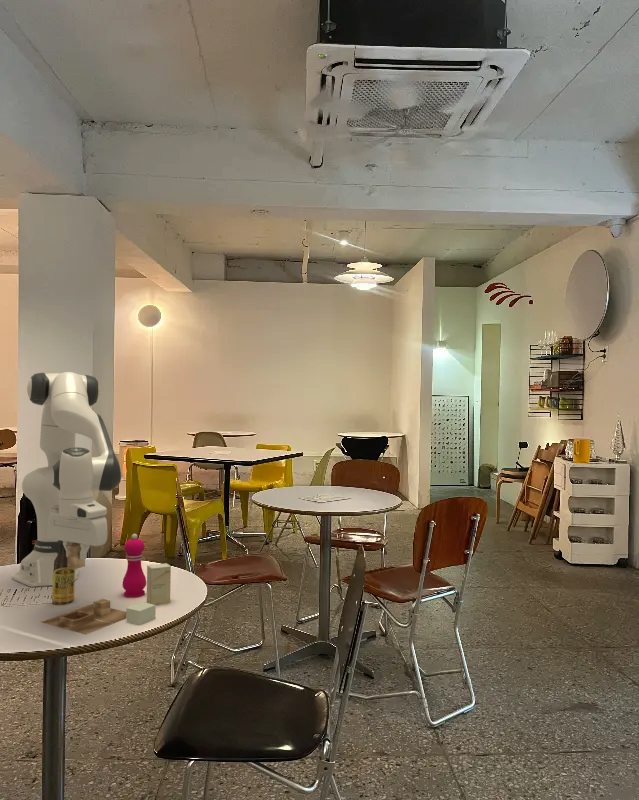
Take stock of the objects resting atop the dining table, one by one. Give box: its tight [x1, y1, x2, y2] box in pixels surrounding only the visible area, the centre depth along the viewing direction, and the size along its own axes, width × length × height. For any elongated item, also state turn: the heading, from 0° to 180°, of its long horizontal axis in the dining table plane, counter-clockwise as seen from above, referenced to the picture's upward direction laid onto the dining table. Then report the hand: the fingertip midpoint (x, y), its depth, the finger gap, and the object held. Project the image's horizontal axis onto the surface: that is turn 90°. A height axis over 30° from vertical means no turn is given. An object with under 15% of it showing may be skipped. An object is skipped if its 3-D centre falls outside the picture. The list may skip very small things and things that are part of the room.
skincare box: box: [146, 562, 172, 606], centre depth 199 cm, size 6×4×12 cm
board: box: [41, 598, 126, 635], centre depth 185 cm, size 18×18×4 cm
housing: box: [125, 601, 157, 626], centre depth 183 cm, size 5×6×5 cm
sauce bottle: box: [51, 540, 76, 606], centre depth 199 cm, size 6×6×20 cm
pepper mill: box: [121, 533, 147, 599], centre depth 206 cm, size 7×7×20 cm
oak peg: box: [67, 543, 86, 570], centre depth 180 cm, size 3×3×6 cm
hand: (76, 558), depth 181 cm, fingers closed on oak peg, 3 cm apart
